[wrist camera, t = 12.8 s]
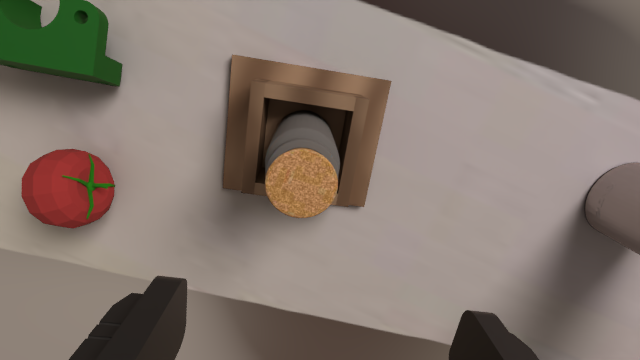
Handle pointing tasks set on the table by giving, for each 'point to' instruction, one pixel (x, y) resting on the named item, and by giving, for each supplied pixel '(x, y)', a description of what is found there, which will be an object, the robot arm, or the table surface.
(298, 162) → the bottle
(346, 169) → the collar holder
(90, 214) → the tomato
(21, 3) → the clamp
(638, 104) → the table surface
